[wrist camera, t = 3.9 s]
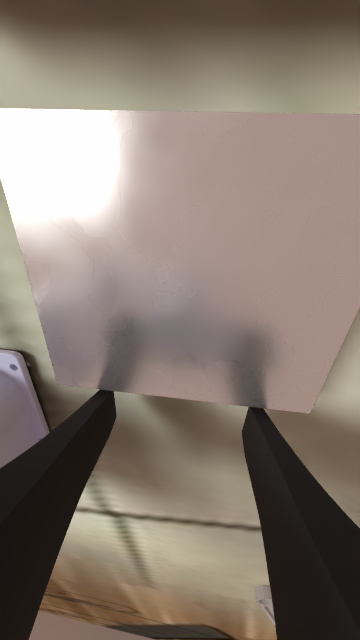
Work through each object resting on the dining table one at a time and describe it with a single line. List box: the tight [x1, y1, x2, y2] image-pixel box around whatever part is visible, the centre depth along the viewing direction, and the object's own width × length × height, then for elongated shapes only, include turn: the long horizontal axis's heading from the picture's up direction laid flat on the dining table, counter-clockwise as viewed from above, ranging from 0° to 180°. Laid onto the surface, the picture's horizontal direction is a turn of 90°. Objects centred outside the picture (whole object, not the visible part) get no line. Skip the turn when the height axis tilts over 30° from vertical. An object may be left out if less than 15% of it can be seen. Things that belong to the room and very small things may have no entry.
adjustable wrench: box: [255, 585, 277, 636], centre depth 28 cm, size 25×6×2 cm, turn 19°
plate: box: [0, 109, 360, 414], centre depth 8 cm, size 10×12×3 cm
